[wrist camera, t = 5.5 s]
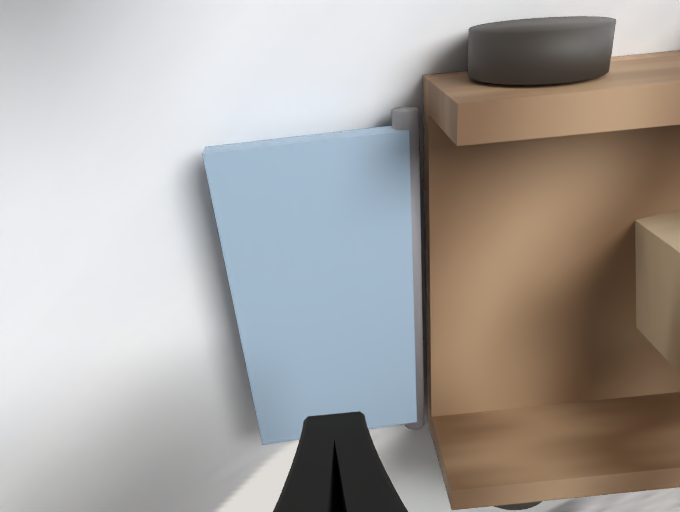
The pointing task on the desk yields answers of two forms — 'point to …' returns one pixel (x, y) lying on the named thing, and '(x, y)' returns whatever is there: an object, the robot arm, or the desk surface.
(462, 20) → the desk surface
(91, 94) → the desk surface
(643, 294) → the block
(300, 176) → the panel
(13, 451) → the desk surface
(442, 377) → the truck bed
